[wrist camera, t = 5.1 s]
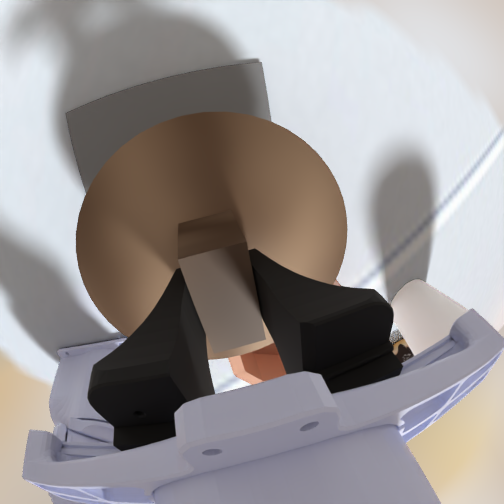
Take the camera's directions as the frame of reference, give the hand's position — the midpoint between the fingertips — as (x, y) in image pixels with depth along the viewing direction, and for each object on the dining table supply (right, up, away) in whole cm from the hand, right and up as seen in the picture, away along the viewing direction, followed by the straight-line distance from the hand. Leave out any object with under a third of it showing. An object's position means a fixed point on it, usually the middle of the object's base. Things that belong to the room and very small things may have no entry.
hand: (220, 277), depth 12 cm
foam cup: (+21, -5, +19) cm, 29 cm away
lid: (0, +1, +2) cm, 2 cm away
